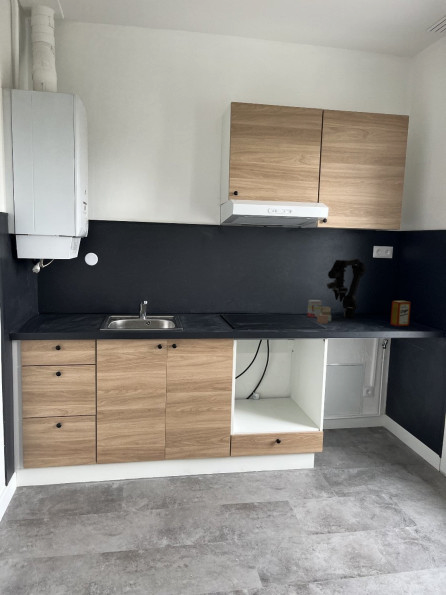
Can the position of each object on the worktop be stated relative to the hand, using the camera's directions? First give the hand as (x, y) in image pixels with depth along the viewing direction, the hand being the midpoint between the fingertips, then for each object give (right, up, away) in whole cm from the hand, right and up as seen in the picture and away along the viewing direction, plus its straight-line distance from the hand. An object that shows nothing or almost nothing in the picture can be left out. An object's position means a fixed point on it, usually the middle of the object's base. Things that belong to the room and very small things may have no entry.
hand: (338, 300), depth 311 cm
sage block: (-10, -13, -3) cm, 17 cm away
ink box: (-15, -12, +10) cm, 21 cm away
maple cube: (-10, -9, -3) cm, 14 cm away
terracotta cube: (-14, -14, -14) cm, 25 cm away
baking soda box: (+37, -16, -14) cm, 42 cm away
